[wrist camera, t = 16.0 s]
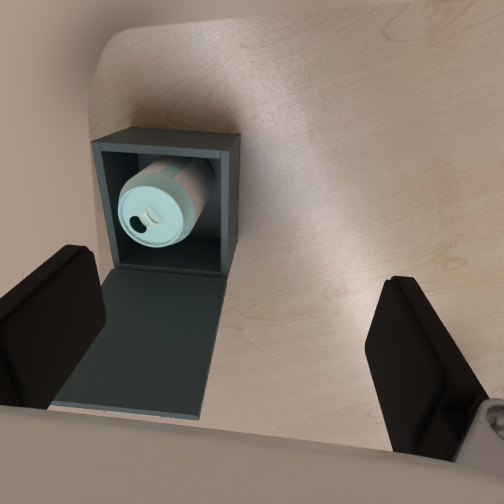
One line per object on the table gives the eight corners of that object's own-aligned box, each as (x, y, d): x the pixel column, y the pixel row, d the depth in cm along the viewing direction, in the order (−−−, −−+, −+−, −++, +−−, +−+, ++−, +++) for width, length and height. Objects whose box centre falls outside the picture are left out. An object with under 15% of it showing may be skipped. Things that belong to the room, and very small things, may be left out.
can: (204, 215, 41) (177, 265, 30) (150, 193, 40) (103, 236, 29) (223, 163, 37) (201, 198, 27) (165, 138, 37) (118, 164, 26)
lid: (29, 398, 24) (53, 427, 27) (198, 415, 24) (202, 444, 27) (111, 268, 35) (121, 300, 38) (227, 278, 35) (227, 309, 38)
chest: (130, 126, 37) (90, 141, 29) (240, 134, 36) (229, 150, 29) (143, 234, 44) (114, 269, 36) (237, 242, 43) (227, 279, 35)
